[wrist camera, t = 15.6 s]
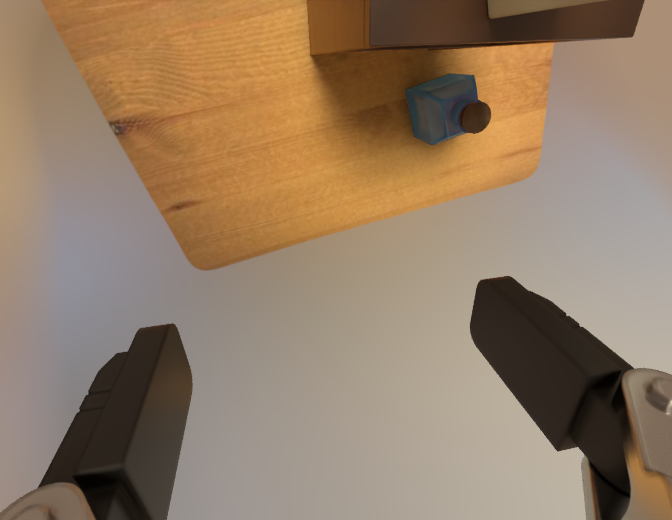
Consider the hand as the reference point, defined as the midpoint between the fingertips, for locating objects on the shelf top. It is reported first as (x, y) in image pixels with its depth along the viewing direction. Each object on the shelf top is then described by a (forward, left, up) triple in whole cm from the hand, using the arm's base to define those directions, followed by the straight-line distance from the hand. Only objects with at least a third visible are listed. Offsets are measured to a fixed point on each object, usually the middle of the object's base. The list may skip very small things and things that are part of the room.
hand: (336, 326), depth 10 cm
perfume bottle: (+21, 0, -42) cm, 47 cm away
